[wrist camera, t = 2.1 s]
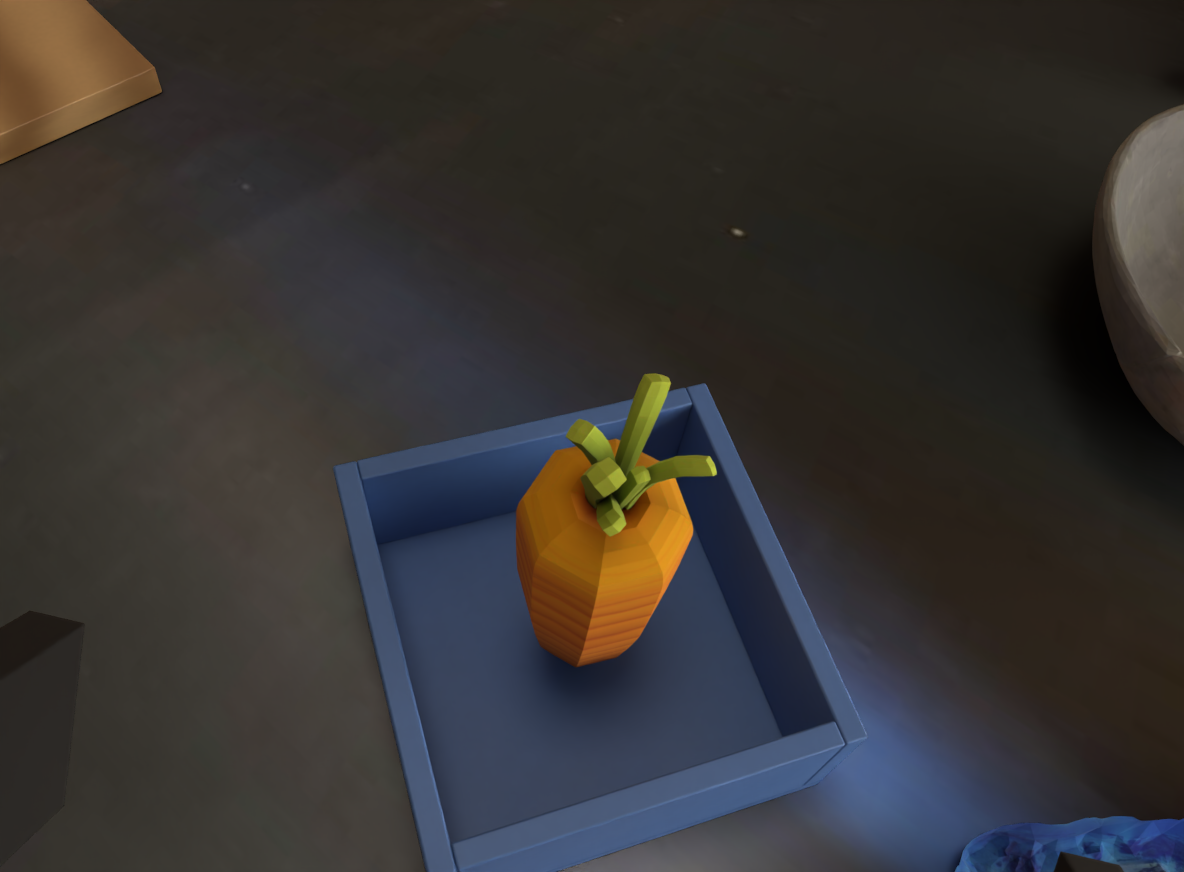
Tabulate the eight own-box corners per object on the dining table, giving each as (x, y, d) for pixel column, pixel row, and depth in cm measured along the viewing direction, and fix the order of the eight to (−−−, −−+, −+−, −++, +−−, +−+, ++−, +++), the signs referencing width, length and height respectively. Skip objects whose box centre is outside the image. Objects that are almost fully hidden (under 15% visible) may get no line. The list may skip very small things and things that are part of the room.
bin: (435, 912, 33) (428, 881, 28) (349, 540, 40) (332, 465, 35) (818, 784, 36) (869, 736, 32) (680, 460, 43) (705, 381, 38)
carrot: (586, 562, 39) (639, 310, 27) (671, 664, 38) (772, 445, 25) (478, 637, 37) (481, 401, 25) (562, 748, 36) (612, 555, 23)
